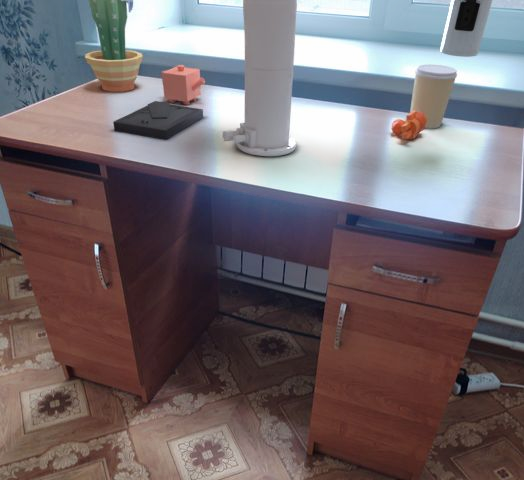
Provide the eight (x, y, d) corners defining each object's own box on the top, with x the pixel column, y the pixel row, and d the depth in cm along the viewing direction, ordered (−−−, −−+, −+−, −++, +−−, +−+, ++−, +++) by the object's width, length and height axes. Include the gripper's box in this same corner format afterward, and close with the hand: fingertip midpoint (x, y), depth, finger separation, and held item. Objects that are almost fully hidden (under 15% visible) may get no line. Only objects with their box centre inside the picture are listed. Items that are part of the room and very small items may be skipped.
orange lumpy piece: (415, 118, 107) (430, 105, 115) (381, 124, 111) (398, 111, 119) (417, 142, 110) (431, 128, 118) (384, 147, 114) (400, 133, 122)
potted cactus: (120, 98, 133) (103, -19, 117) (77, 88, 139) (56, -24, 122) (158, 86, 143) (147, -23, 127) (117, 78, 149) (102, -28, 133)
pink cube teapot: (199, 107, 128) (197, 71, 123) (157, 101, 131) (154, 66, 126) (212, 100, 134) (210, 65, 129) (171, 94, 137) (169, 60, 132)
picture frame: (155, 110, 126) (114, 130, 113) (154, 100, 124) (112, 120, 112) (203, 117, 122) (166, 139, 110) (202, 107, 121) (165, 128, 108)
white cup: (457, 57, 89) (472, -4, 84) (432, 50, 94) (445, -9, 88) (485, 55, 92) (502, -5, 86) (459, 48, 96) (474, -10, 90)
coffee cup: (440, 118, 127) (453, 65, 120) (447, 130, 120) (461, 74, 112) (403, 116, 128) (414, 63, 120) (407, 128, 121) (419, 72, 113)
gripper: (474, -106, 86) (446, 19, 97) (471, -111, 73) (439, 32, 85) (521, -104, 84) (486, 22, 96) (526, -109, 71) (485, 37, 83)
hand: (464, 26), depth 90 cm, fingers closed on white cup, 6 cm apart
